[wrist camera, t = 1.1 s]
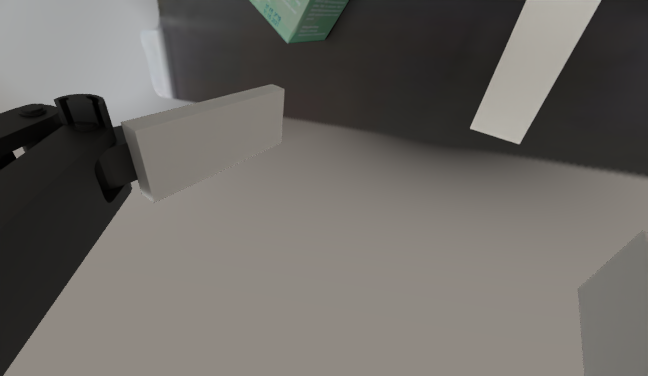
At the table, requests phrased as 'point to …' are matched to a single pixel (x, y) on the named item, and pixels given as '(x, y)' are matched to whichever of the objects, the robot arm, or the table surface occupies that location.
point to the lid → (531, 65)
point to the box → (301, 17)
